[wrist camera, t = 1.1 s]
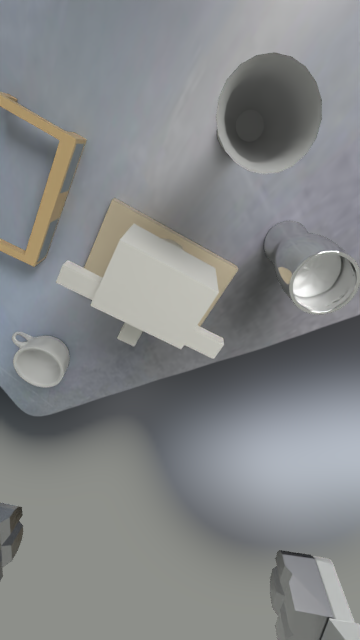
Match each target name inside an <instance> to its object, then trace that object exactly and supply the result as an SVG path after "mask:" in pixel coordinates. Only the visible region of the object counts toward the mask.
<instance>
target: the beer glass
mask: <svg viewBox="0 0 360 640" xmlns="http://www.w3.org/2000/svg"><path fill="white" fill-rule="evenodd" d="M264 251H265V254H266V256H267V257H268V259H269V260H270V261H271V262H273V263H274V268H275V273H276V277H277V280H278V282H279V284H280V286H281V287H282V289H283V290H284V292H285V293H286V294H287V296H288V297H289V298H290V299H291V300H292V301H293V303H294V304H295V305H296V306H297V307H298V308H299V309H300V310H302V311H304V312H306V313H309V314H315V315H322V314H328V313H331V312H334V311H336V310H338V309H340V308H342V307H343V306H345V305H346V304H347V303H348V302H349V301H350V300H351V299H352V298H353V297H354V295H355V294H356V292H357V290H358V288H359V285H360V269H359V266H358V264H357V263H356V261H355V260H354V259H353V258H352V257H351V256H349V255H348V254H347V252H345V251H344V250H343V249H342V248H341V247H340V246H339V245H338V244H336V243H335V242H333V241H332V240H330V239H328V238H327V237H324V236H321V235H318V234H314V233H309V232H308V231H307V229H306V228H305V227H304V226H303V225H302V224H301V223H299V222H296V221H283V222H280V223H278V224H277V225H275V226H274V227H272V228H271V229H270V231H269V232H268V233H267V235H266V237H265V241H264Z"/></svg>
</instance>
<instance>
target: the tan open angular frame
mask: <svg viewBox="0 0 360 640" xmlns="http://www.w3.org/2000/svg"><path fill="white" fill-rule="evenodd" d="M0 106H1V107H2V108H4V109H6V110H8V111H9V112H11V113H13V114H15V115H16V116H18V117H20V118H22V119H23V120H25V121H27V122H29V123H30V124H32V125H34V126H36V127H37V128H39V129H41V130H43V131H44V132H46V133H48V134H50V135H51V136H53V137H55V138H57V139H58V140H60V141H59V145H58V148H57V151H56V154H55V158H54V161H53V164H52V167H51V171H50V174H49V177H48V180H47V184H46V187H45V190H44V193H43V197H42V200H41V203H40V206H39V210H38V213H37V216H36V219H35V223H34V226H33V229H32V232H31V236H30V239H29V242H28V245H27V249H26V251H25V250H23V249H21V248H19V247H17V246H15V245H12V244H10V243H8V242H6V241H4V240H2V239H0V251H2V252H4V253H6V254H8V255H10V256H12V257H14V258H16V259H19V260H21V261H23V262H25V263H27V264H29V265H31V266H33V267H35V266H36V265H37V264H39V263H40V262H41V261H43V260H44V259H45V258H46V256H47V253H48V250H49V247H50V244H51V242H52V239H53V236H54V233H55V230H56V227H57V224H58V221H59V218H60V215H61V213H62V210H63V207H64V204H65V201H66V198H67V195H68V192H69V189H70V186H71V183H72V181H73V178H74V175H75V172H76V169H77V166H78V163H79V160H80V157H81V154H82V152H83V149H84V146H85V143H86V139H85V138H83V137H81V136H80V135H78V134H76V133H74V132H66V131H65V130H63V129H61V128H59V127H58V126H56V125H54V124H52V123H51V122H49V121H47V120H46V119H44V118H42V117H40V116H39V115H37V114H35V113H34V112H32V111H30V110H28V109H27V108H25V107H23V106H22V105H20V104H18V103H17V99H16V98H15V97H13V96H11V95H9V94H6V93H3V92H0Z"/></svg>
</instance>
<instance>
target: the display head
mask: <svg viewBox="0 0 360 640" xmlns="http://www.w3.org/2000/svg"><path fill="white" fill-rule="evenodd" d="M237 271H238V267H237V266H236V265H234V264H232V263H231V262H229V261H227V260H225V259H223V258H222V257H220V256H218V255H216V254H214V253H213V252H211V251H209V250H207V249H205V248H204V247H202V246H200V245H198V244H197V243H195V242H193V241H191V240H189V239H188V238H186V237H184V236H182V235H180V234H179V233H177V232H175V231H173V230H171V229H170V228H168V227H166V226H164V225H163V224H161V223H159V222H157V221H155V220H154V219H152V218H150V217H148V216H146V215H145V214H143V213H141V212H139V211H137V210H136V209H134V208H132V207H130V206H128V205H127V204H125V203H123V202H121V201H120V200H118V199H116V198H114V199H112V201H111V204H110V206H109V209H108V211H107V213H106V216H105V218H104V221H103V223H102V226H101V228H100V230H99V233H98V235H97V238H96V240H95V243H94V245H93V247H92V250H91V252H90V255H89V257H88V260H87V262H86V264H85V267H84V268H83V267H81V266H79V265H77V264H75V263H73V262H71V261H69V260H68V261H66V262H65V263H64V264H63V265H62V268H61V271H60V273H59V276H58V279H57V281H56V283H58V284H60V285H62V286H64V287H66V288H68V289H70V290H72V291H74V292H76V293H78V294H80V295H82V296H84V297H86V298H89V299H91V300H92V303H91V305H90V306H92V307H94V308H96V309H98V310H100V311H102V312H104V313H106V314H109V315H111V316H113V317H115V318H117V319H119V320H121V321H123V322H124V324H123V326H122V328H121V330H120V333H119V335H118V338H117V339H119V340H121V341H123V342H125V343H127V344H129V345H132V346H135V344H136V343H137V341H138V339H139V337H140V336H141V334H142V332H143V331H144V332H146V333H148V334H150V335H152V336H154V337H156V338H158V339H161V340H163V341H165V342H167V343H169V344H171V345H173V346H175V347H177V348H179V349H182V348H183V346H184V345H185V346H187V347H190V348H192V349H194V350H196V351H198V352H200V353H202V354H204V355H206V356H208V357H210V358H212V359H214V358H215V357H216V355H217V354H218V353H219V351H220V350H221V348H222V347H223V346H224V341H223V338H222V337H220V336H218V335H216V334H214V333H212V332H210V331H208V330H206V329H204V328H202V327H200V326H201V325H202V323H203V322H204V320H205V319H206V317H207V316H208V314H209V313H210V311H211V310H212V308H213V307H214V305H215V304H216V302H217V301H218V299H219V298H220V296H221V295H222V293H223V292H224V290H225V289H226V287H227V286H228V284H229V283H230V281H231V280H232V278H233V277H234V275H235V274H236V272H237Z"/></svg>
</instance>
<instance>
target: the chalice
mask: <svg viewBox="0 0 360 640" xmlns="http://www.w3.org/2000/svg"><path fill="white" fill-rule="evenodd" d="M321 120H322V100H321V96H320V93H319V90H318V86H317V83H316V81H315V79H314V78H313V77H312V75H311V74H310V72H309V71H308V69H307V68H306V67H305V66H304V65H302V64H301V63H300V62H298V61H297V60H295V59H294V58H293V57H291V56H286V55H282V54H278V53H268V54H261V55H256V56H254V57H253V58H251V59H249V60H247V61H246V62H244V63H242V64H240V65H239V66H238V68H237V69H236V70H235V71H234V72H233V73H232V74H231V75H230V77H229V78H228V79H227V81H226V83H225V85H224V87H223V89H222V92H221V94H220V96H219V100H218V107H217V114H216V121H217V138H218V141H219V143H220V145H221V147H222V148H223V149H224V150H225V151H226V152H227V153H228V155H229V156H230V157H231V158H232V159H233V160H234V162H235V163H236V164H238V165H240V166H241V167H243V168H245V169H246V170H248V171H251V172H255V173H260V174H270V173H279V172H281V171H283V170H285V169H287V168H290V167H292V166H294V165H295V164H296V163H297V162H298V161H299V160H300V159H301V158H303V157H304V156H305V155H306V154H307V152H308V151H309V149H310V148H311V146H312V144H313V143H314V141H315V139H316V137H317V134H318V130H319V127H320V123H321Z"/></svg>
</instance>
